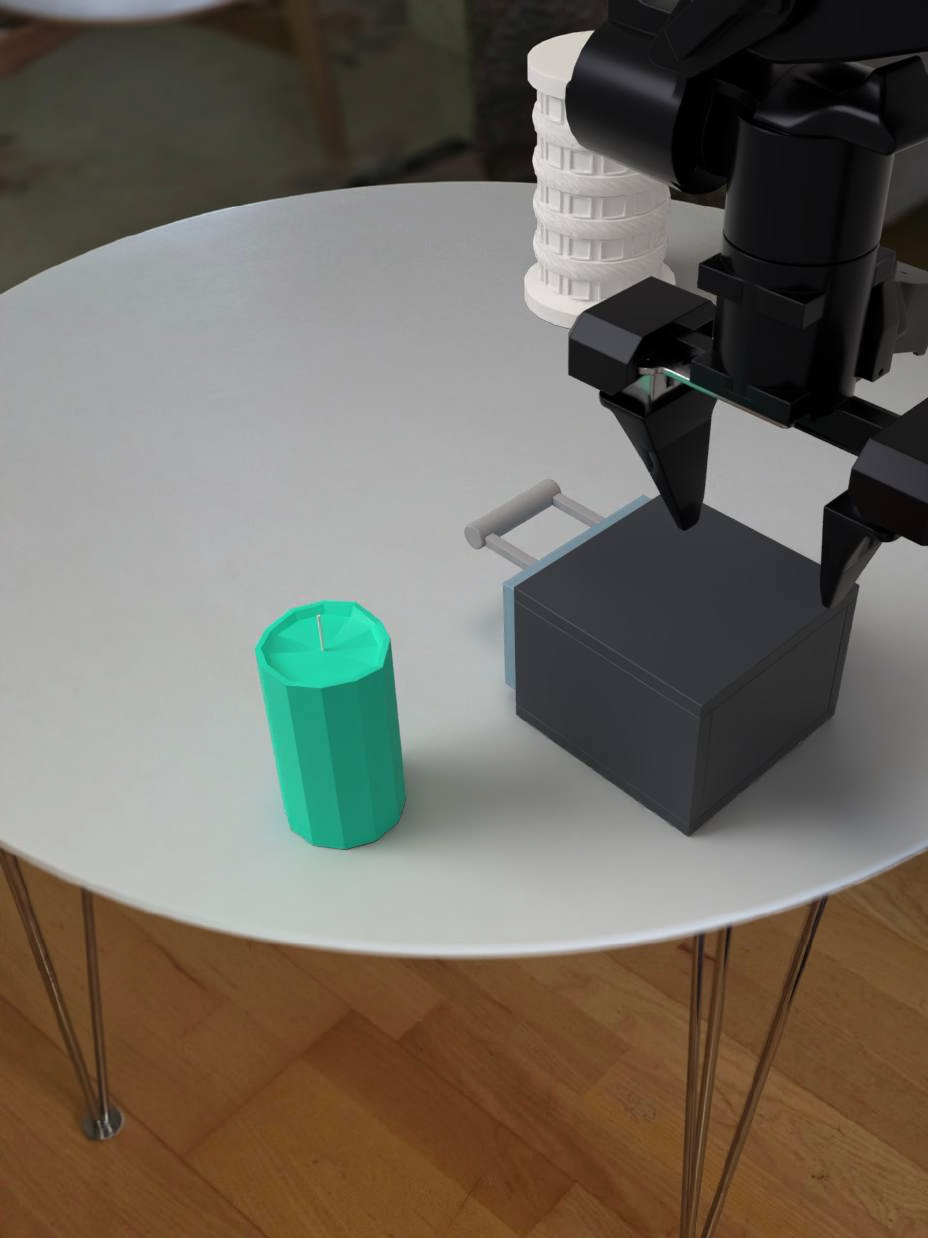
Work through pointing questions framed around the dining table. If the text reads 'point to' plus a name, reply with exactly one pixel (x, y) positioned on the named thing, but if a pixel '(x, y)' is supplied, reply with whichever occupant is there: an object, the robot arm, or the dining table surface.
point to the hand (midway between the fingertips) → (757, 563)
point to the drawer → (505, 520)
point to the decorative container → (585, 205)
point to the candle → (333, 722)
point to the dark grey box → (679, 657)
